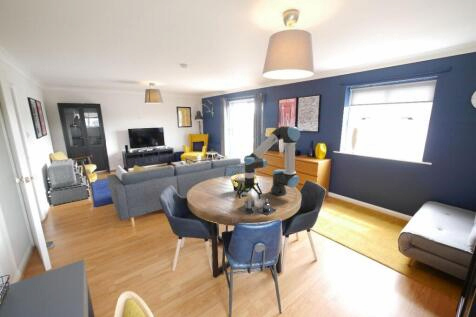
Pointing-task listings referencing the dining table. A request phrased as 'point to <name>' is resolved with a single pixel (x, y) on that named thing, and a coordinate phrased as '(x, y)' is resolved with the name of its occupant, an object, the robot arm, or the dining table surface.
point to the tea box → (246, 191)
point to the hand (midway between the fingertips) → (249, 202)
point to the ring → (249, 202)
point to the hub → (249, 208)
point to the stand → (266, 208)
